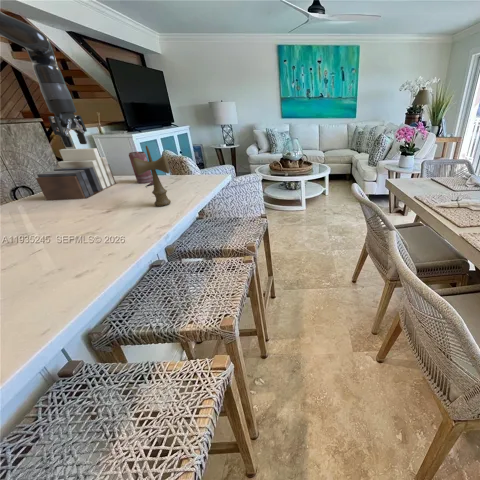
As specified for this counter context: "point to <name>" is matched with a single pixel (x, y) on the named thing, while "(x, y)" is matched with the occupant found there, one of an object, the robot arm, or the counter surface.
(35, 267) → the counter surface
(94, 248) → the counter surface
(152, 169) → the kendama
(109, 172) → the book rack
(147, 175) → the can
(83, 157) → the cream book
